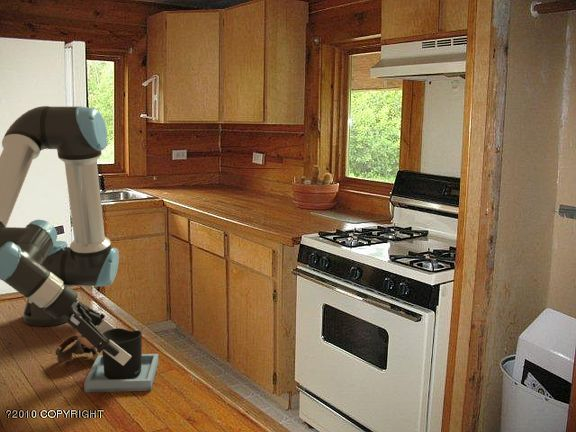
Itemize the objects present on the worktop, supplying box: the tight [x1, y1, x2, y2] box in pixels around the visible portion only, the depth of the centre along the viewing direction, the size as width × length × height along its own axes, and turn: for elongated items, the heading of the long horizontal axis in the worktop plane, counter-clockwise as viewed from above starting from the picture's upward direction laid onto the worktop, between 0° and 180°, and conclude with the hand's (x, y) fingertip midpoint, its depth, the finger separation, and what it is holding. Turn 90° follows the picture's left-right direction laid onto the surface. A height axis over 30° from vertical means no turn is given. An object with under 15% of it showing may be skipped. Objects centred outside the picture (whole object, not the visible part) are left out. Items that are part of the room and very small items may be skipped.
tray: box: [83, 353, 159, 393], centre depth 146 cm, size 15×15×2 cm
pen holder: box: [101, 327, 143, 380], centre depth 145 cm, size 9×9×10 cm
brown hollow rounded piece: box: [55, 333, 99, 363], centre depth 154 cm, size 12×10×8 cm
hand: (123, 349), depth 145 cm, fingers open, 13 cm apart
